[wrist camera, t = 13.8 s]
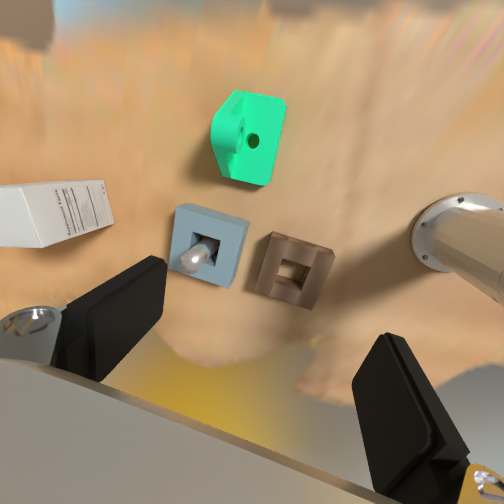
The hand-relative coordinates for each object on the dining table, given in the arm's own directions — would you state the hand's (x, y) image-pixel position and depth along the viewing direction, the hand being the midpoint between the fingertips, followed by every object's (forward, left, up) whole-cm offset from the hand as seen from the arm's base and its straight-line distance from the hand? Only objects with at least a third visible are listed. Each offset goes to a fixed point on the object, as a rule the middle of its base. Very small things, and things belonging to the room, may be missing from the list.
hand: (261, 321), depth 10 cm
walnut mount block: (-5, +11, -32) cm, 34 cm away
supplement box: (+37, +11, -32) cm, 51 cm away
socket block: (+11, +11, -32) cm, 36 cm away
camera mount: (+8, -8, -33) cm, 34 cm away
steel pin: (+11, +11, -32) cm, 36 cm away
